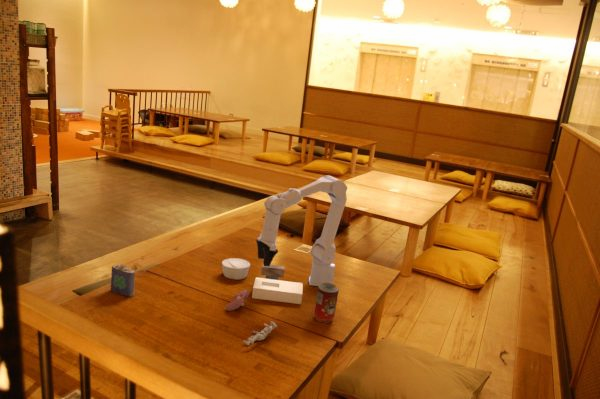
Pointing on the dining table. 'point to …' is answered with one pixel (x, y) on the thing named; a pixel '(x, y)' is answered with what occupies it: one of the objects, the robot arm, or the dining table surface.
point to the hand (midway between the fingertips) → (263, 262)
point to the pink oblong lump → (237, 300)
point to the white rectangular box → (277, 290)
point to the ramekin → (235, 268)
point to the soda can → (326, 302)
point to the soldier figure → (261, 333)
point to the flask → (122, 281)
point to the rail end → (273, 271)
